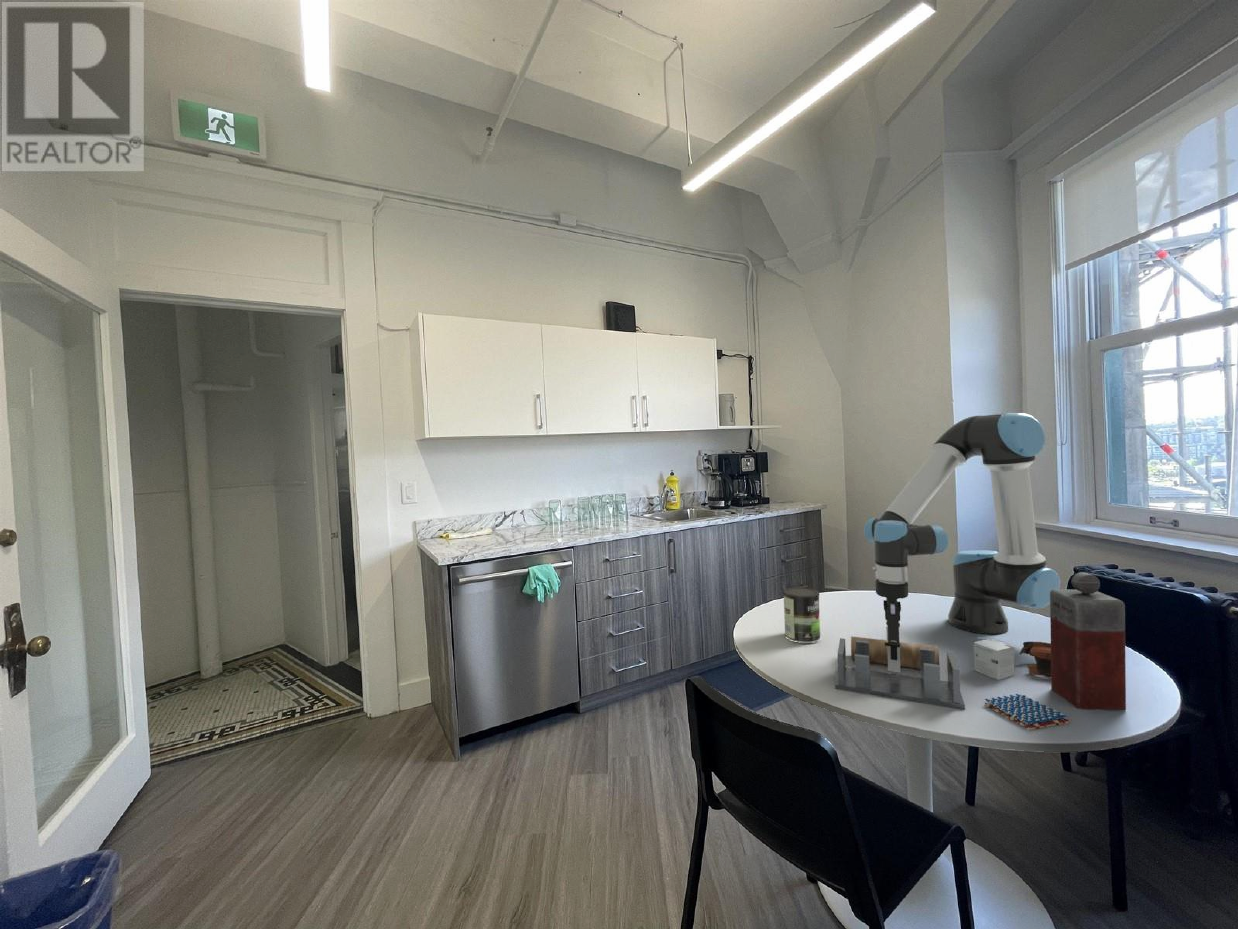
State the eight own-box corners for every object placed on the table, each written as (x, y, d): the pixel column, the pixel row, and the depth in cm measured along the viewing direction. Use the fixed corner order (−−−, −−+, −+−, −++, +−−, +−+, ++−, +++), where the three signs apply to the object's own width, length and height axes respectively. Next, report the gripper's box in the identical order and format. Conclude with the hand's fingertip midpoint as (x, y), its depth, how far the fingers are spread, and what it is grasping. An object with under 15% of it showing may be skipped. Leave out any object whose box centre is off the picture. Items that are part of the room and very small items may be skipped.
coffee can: (827, 637, 153) (825, 590, 153) (809, 647, 147) (808, 598, 146) (795, 629, 161) (794, 584, 161) (777, 638, 154) (776, 592, 154)
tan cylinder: (937, 665, 132) (936, 642, 132) (939, 675, 127) (939, 652, 126) (852, 654, 141) (851, 633, 141) (851, 663, 136) (850, 641, 135)
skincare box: (973, 670, 128) (972, 641, 128) (989, 666, 130) (989, 637, 130) (998, 680, 122) (998, 650, 122) (1015, 675, 124) (1014, 646, 124)
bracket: (957, 687, 120) (956, 651, 120) (965, 709, 110) (964, 671, 110) (837, 669, 132) (836, 637, 131) (834, 688, 122) (833, 653, 121)
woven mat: (1029, 733, 101) (1029, 723, 101) (982, 707, 112) (982, 698, 112) (1072, 726, 103) (1072, 716, 103) (1022, 701, 114) (1021, 692, 113)
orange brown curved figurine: (1013, 673, 127) (1011, 639, 130) (1033, 681, 130) (1030, 648, 134) (1073, 677, 117) (1069, 641, 120) (1093, 687, 120) (1088, 651, 124)
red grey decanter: (1088, 685, 118) (1086, 566, 117) (1126, 711, 107) (1125, 578, 106) (1044, 684, 119) (1042, 566, 118) (1078, 708, 108) (1076, 578, 107)
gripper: (875, 568, 146) (877, 641, 147) (875, 592, 124) (877, 678, 124) (905, 570, 142) (906, 645, 143) (911, 594, 120) (912, 683, 121)
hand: (893, 660), depth 134 cm, fingers open, 13 cm apart
